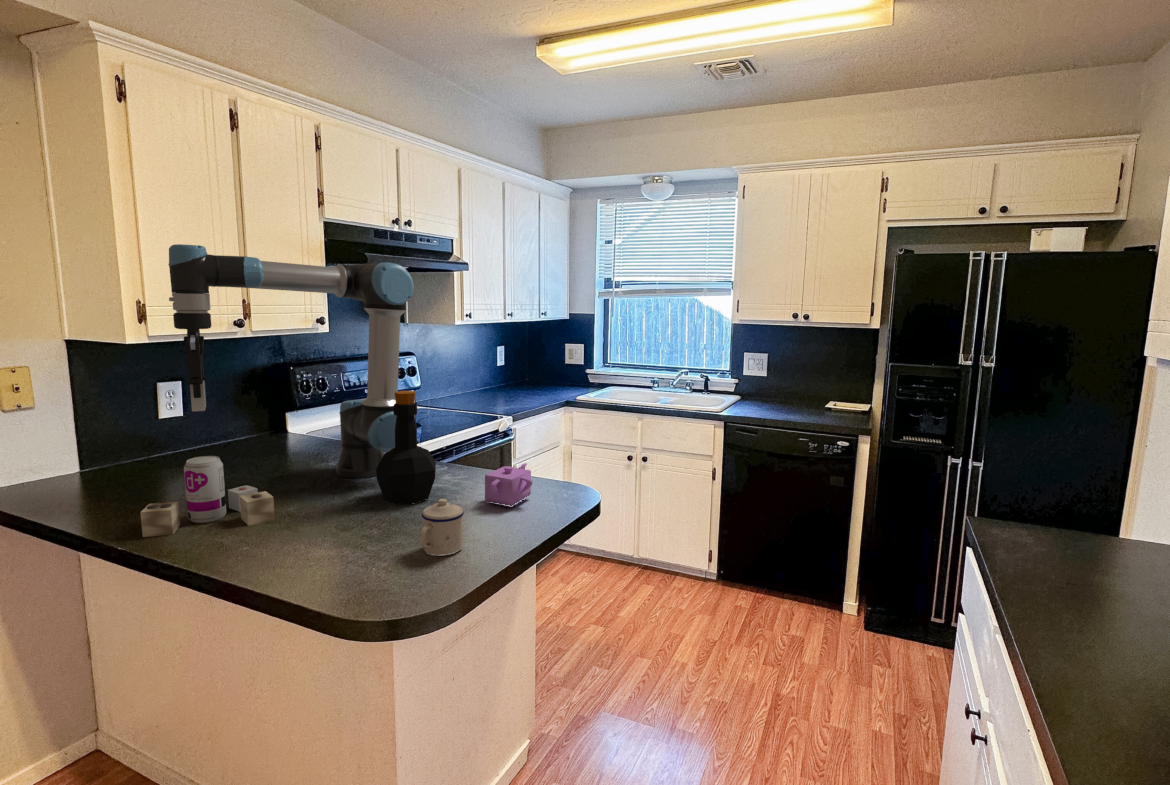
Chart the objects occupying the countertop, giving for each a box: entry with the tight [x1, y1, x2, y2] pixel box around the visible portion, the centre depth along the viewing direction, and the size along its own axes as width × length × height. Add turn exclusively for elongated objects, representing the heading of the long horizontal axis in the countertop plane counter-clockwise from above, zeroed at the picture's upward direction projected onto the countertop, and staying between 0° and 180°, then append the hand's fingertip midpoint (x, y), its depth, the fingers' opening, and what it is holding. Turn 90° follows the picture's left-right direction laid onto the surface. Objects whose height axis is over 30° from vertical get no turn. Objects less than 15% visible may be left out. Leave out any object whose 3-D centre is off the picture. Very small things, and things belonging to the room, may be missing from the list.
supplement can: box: [183, 455, 227, 524], centre depth 154 cm, size 8×8×15 cm
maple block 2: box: [240, 490, 276, 526], centre depth 155 cm, size 6×6×6 cm
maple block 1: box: [140, 501, 181, 538], centre depth 146 cm, size 6×6×6 cm
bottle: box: [376, 390, 437, 505], centre depth 172 cm, size 16×16×30 cm
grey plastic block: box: [227, 484, 259, 513], centre depth 163 cm, size 5×5×5 cm
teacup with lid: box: [418, 498, 465, 555], centre depth 138 cm, size 12×9×12 cm
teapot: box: [484, 463, 533, 506], centre depth 172 cm, size 18×14×10 cm
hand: (199, 408), depth 151 cm, fingers open, 4 cm apart
